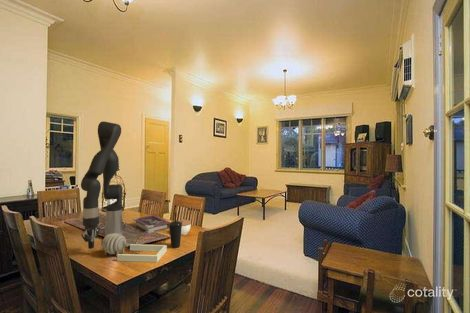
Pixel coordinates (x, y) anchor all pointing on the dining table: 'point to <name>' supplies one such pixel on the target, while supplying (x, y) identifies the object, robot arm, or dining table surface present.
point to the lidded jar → (185, 226)
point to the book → (151, 223)
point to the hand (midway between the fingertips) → (91, 248)
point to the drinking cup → (175, 233)
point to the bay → (143, 258)
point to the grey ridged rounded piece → (114, 243)
